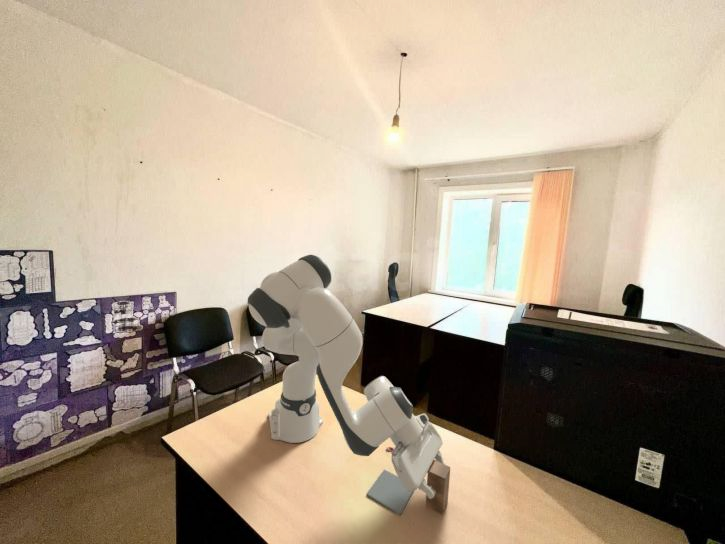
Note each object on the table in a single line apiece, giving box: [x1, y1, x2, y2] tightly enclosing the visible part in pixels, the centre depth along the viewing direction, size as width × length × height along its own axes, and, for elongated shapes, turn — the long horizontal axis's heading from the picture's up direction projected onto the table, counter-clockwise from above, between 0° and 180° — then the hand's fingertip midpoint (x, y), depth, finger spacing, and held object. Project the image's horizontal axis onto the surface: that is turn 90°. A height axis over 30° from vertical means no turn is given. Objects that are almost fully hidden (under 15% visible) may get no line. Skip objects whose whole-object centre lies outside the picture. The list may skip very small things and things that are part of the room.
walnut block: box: [425, 459, 451, 516], centre depth 75 cm, size 4×4×10 cm
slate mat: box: [366, 469, 414, 516], centre depth 79 cm, size 10×10×1 cm
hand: (439, 483), depth 75 cm, fingers open, 8 cm apart
